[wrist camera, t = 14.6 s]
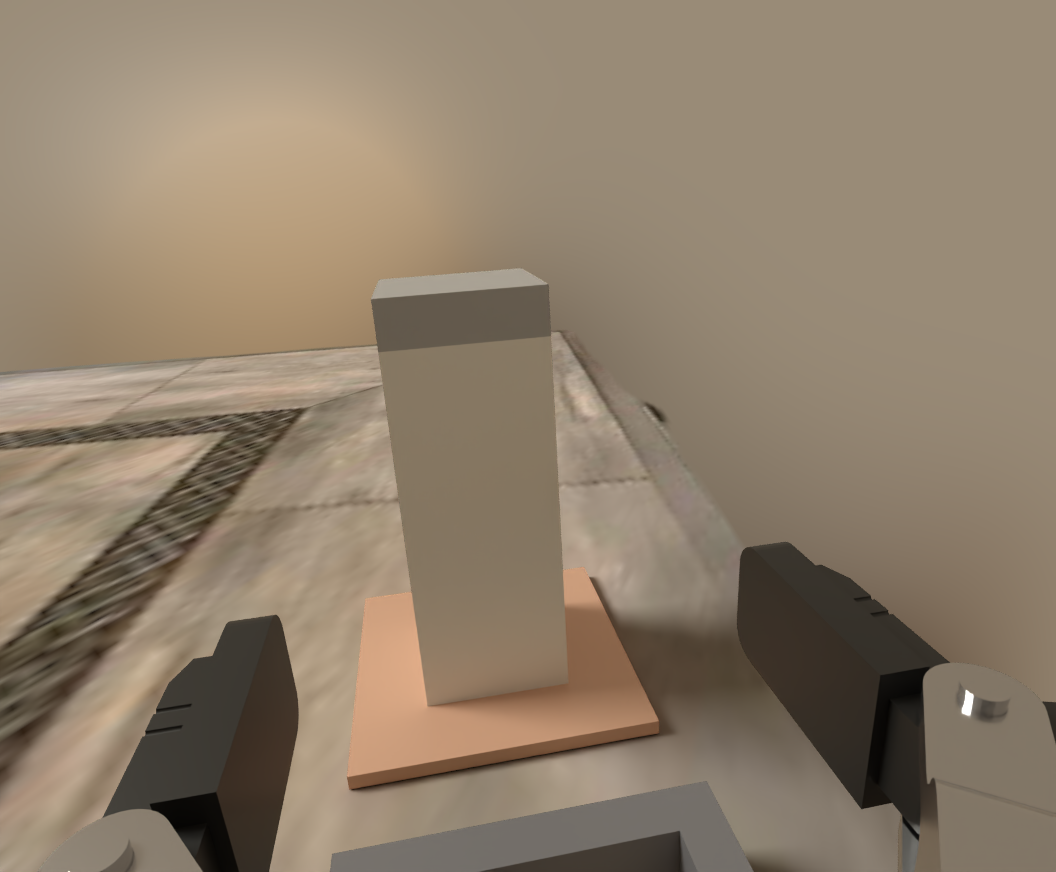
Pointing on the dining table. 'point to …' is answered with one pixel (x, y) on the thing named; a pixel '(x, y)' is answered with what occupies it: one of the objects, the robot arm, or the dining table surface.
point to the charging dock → (576, 840)
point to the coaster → (488, 698)
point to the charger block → (476, 477)
